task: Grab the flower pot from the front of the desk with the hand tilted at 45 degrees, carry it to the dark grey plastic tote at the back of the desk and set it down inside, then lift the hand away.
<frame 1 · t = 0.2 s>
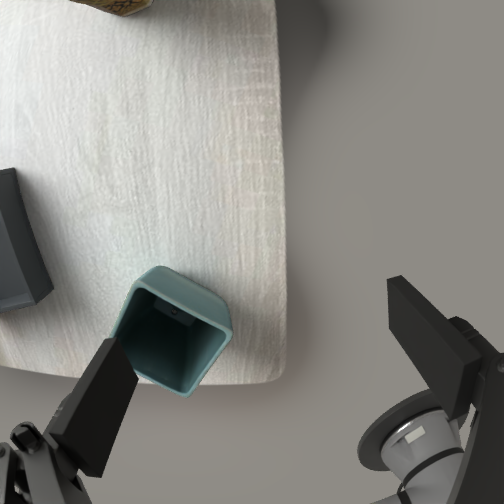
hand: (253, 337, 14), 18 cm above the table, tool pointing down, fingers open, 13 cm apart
flower pot: (181, 297, 33), on the table
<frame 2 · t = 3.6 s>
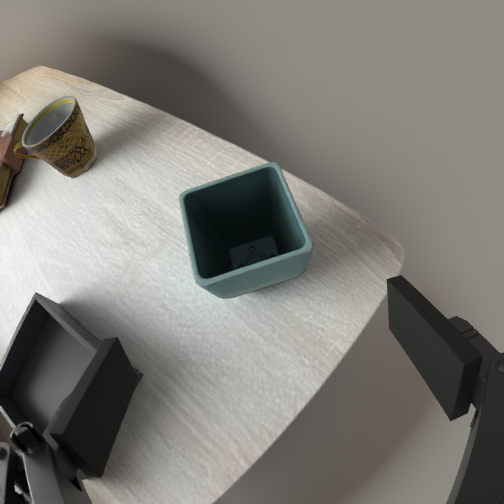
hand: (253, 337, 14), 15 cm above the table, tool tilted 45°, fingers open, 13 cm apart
flower pot: (256, 264, 33), on the table
book: (1, 176, 49), on the table
tote: (65, 389, 29), on the table
ceramic cup: (73, 166, 44), on the table
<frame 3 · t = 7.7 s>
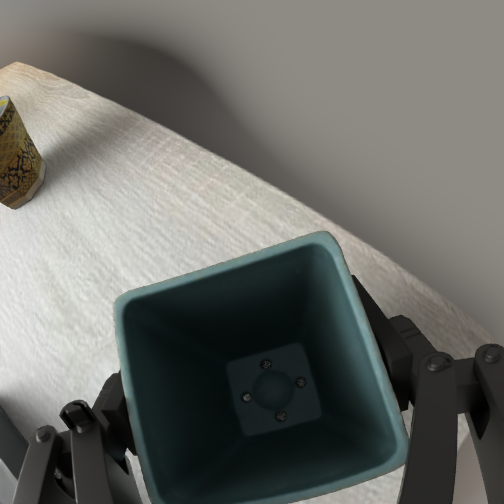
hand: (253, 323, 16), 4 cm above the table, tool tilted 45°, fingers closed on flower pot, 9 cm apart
flower pot: (273, 389, 18), on the table, touching gripper
ceramic cup: (18, 191, 30), on the table
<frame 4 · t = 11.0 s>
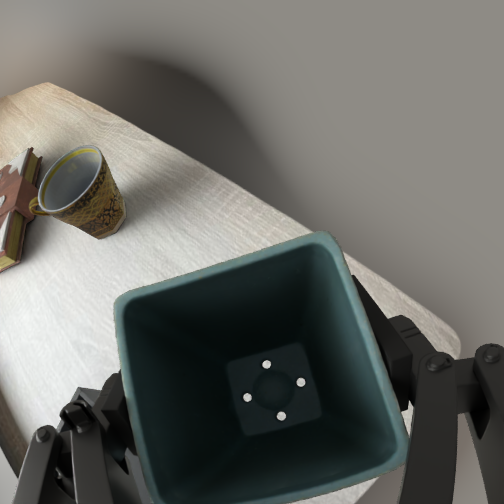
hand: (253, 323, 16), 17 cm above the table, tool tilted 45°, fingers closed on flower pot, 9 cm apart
flower pot: (273, 389, 18), point 13 cm above the table, touching gripper
book: (11, 219, 47), on the table
tote: (120, 477, 27), on the table
ceramic cup: (98, 223, 42), on the table
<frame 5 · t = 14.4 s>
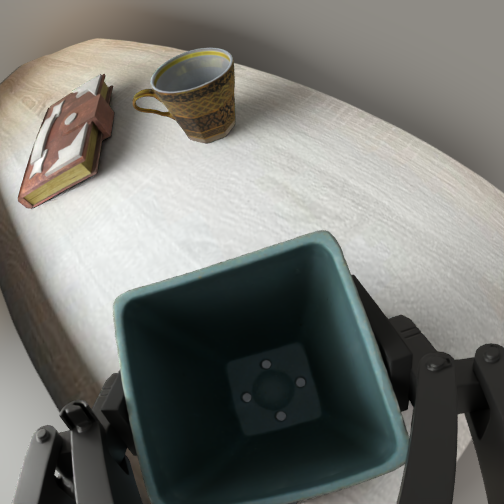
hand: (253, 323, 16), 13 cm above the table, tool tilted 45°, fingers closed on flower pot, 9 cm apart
flower pot: (272, 389, 18), point 9 cm above the table, touching gripper
book: (75, 143, 46), on the table
ceramic cup: (200, 131, 41), on the table
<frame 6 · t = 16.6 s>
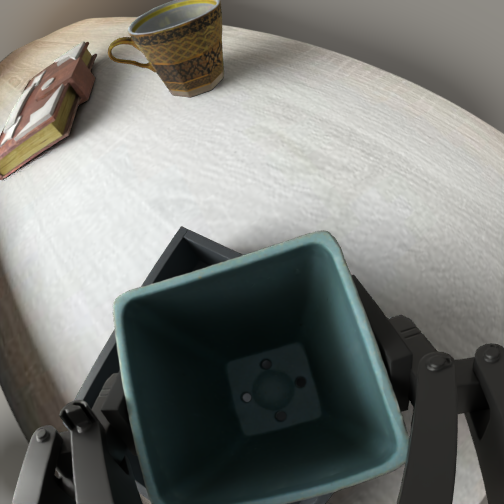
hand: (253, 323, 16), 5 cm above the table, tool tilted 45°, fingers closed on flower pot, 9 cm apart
flower pot: (272, 389, 18), point 1 cm above the table, touching gripper
book: (53, 111, 39), on the table
tote: (235, 399, 19), on the table
ceramic cup: (185, 87, 34), on the table
when the fingers open (6 cm above the table, at t = 21.2 s): flower pot moves 1 cm, resting on tote.
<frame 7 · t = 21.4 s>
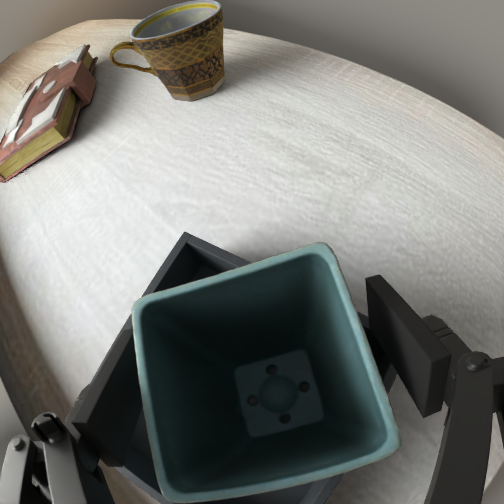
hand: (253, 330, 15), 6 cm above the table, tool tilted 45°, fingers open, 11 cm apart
flower pot: (278, 393, 19), point 1 cm above the table, touching tote
book: (54, 114, 40), on the table
tote: (238, 400, 19), on the table
ceramic cup: (186, 91, 35), on the table
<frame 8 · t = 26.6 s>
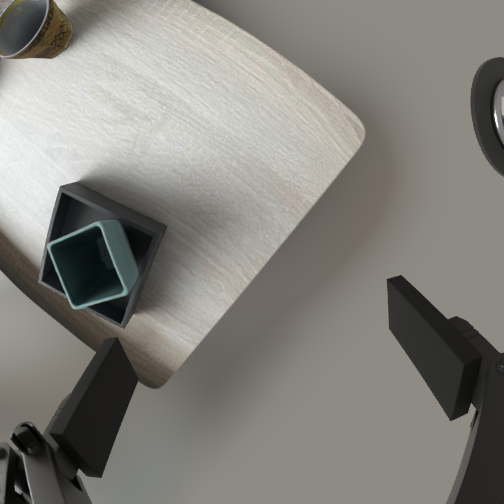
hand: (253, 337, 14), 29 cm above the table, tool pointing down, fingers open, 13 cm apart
flower pot: (116, 248, 42), point 1 cm above the table, touching tote
tote: (102, 250, 43), on the table
ceramic cup: (48, 44, 33), on the table
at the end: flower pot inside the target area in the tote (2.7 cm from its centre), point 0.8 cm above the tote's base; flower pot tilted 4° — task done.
